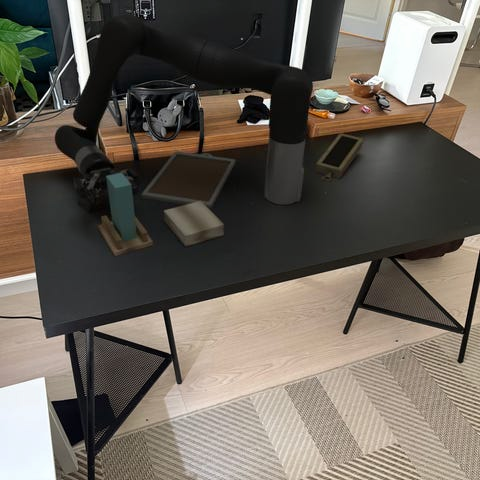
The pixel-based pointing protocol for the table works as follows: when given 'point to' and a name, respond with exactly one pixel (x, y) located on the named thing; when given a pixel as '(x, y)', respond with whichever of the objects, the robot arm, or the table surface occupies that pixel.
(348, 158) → the box
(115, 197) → the tall teal prism
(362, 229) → the table surface
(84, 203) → the usb drive
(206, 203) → the grey framed brown panel
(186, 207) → the block
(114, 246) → the rack
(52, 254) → the table surface
